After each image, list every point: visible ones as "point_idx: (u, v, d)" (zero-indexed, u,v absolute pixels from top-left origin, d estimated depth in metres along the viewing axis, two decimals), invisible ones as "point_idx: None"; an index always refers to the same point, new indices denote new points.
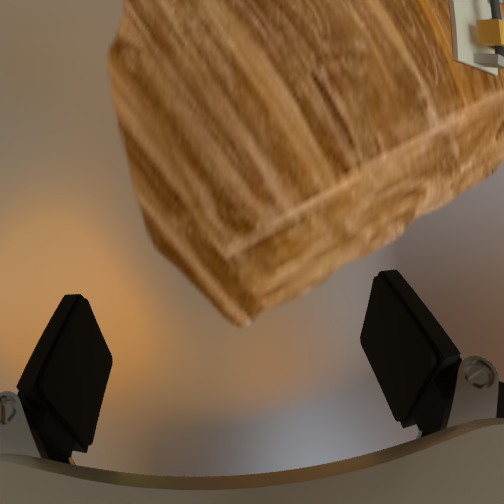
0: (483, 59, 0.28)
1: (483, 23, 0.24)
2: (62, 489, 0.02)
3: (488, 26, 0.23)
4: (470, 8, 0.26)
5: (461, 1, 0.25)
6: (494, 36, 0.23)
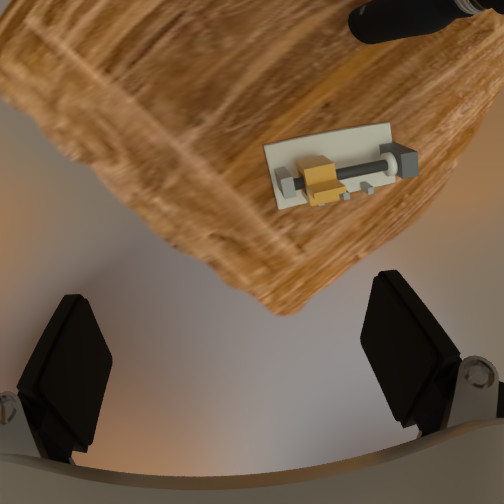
0: (280, 172, 0.42)
1: (321, 158, 0.40)
2: (62, 489, 0.02)
3: (319, 160, 0.39)
4: (336, 155, 0.43)
5: (338, 143, 0.43)
6: (310, 165, 0.38)
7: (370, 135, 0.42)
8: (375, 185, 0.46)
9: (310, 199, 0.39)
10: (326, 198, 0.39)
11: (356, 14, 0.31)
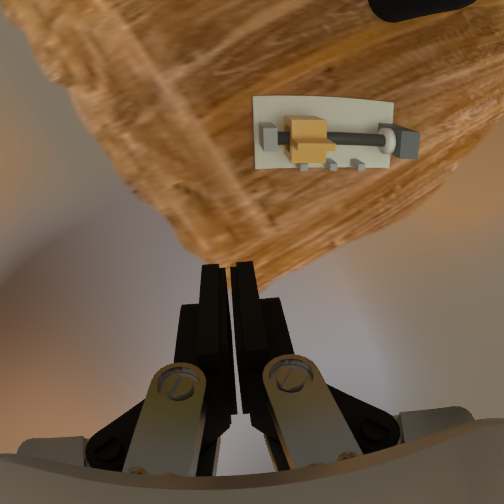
0: (264, 124, 0.36)
1: None
2: (62, 489, 0.02)
3: (311, 117, 0.33)
4: (330, 123, 0.38)
5: (335, 110, 0.38)
6: (299, 118, 0.32)
7: (370, 110, 0.38)
8: (366, 166, 0.42)
9: (292, 155, 0.33)
10: (311, 158, 0.34)
11: None
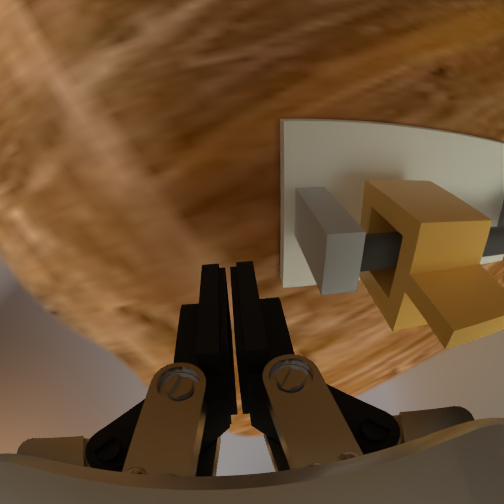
0: (317, 203, 0.14)
1: (437, 190, 0.13)
2: (62, 489, 0.02)
3: (441, 198, 0.12)
4: None
5: (451, 161, 0.16)
6: (427, 208, 0.11)
7: (500, 163, 0.16)
8: None
9: (400, 314, 0.12)
10: None
11: None
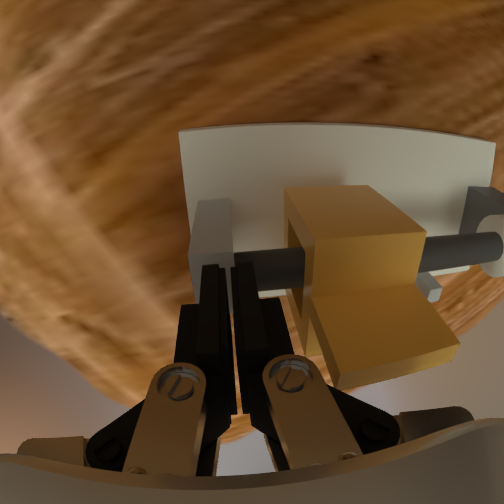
0: (206, 218, 0.13)
1: (368, 196, 0.12)
2: (62, 489, 0.02)
3: (368, 206, 0.11)
4: None
5: (389, 160, 0.15)
6: (337, 220, 0.10)
7: (457, 160, 0.15)
8: (434, 273, 0.20)
9: (310, 339, 0.11)
10: None
11: None
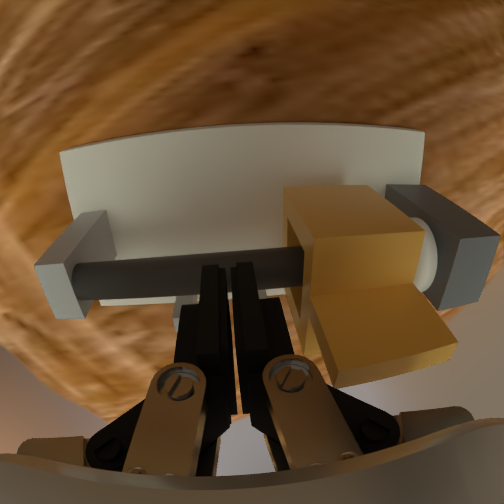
0: (71, 231, 0.13)
1: (367, 195, 0.12)
2: (62, 489, 0.02)
3: (367, 206, 0.11)
4: (257, 197, 0.16)
5: (268, 161, 0.15)
6: (336, 219, 0.10)
7: (367, 154, 0.15)
8: None
9: (309, 338, 0.11)
10: None
11: None
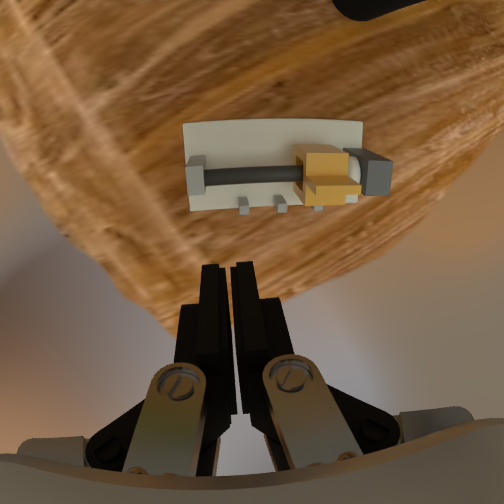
0: (193, 159, 0.30)
1: (329, 146, 0.29)
2: (62, 489, 0.02)
3: (328, 148, 0.28)
4: (280, 151, 0.33)
5: (286, 135, 0.32)
6: (314, 150, 0.27)
7: (332, 133, 0.32)
8: None
9: (306, 196, 0.28)
10: (328, 199, 0.28)
11: None
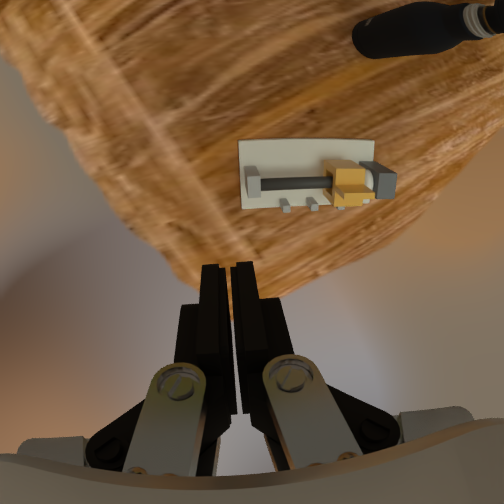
0: (249, 170, 0.40)
1: (350, 162, 0.39)
2: (62, 489, 0.02)
3: (349, 164, 0.38)
4: (312, 164, 0.43)
5: (316, 151, 0.42)
6: (341, 166, 0.37)
7: (351, 150, 0.42)
8: None
9: (335, 199, 0.38)
10: (350, 202, 0.38)
11: (362, 25, 0.31)
